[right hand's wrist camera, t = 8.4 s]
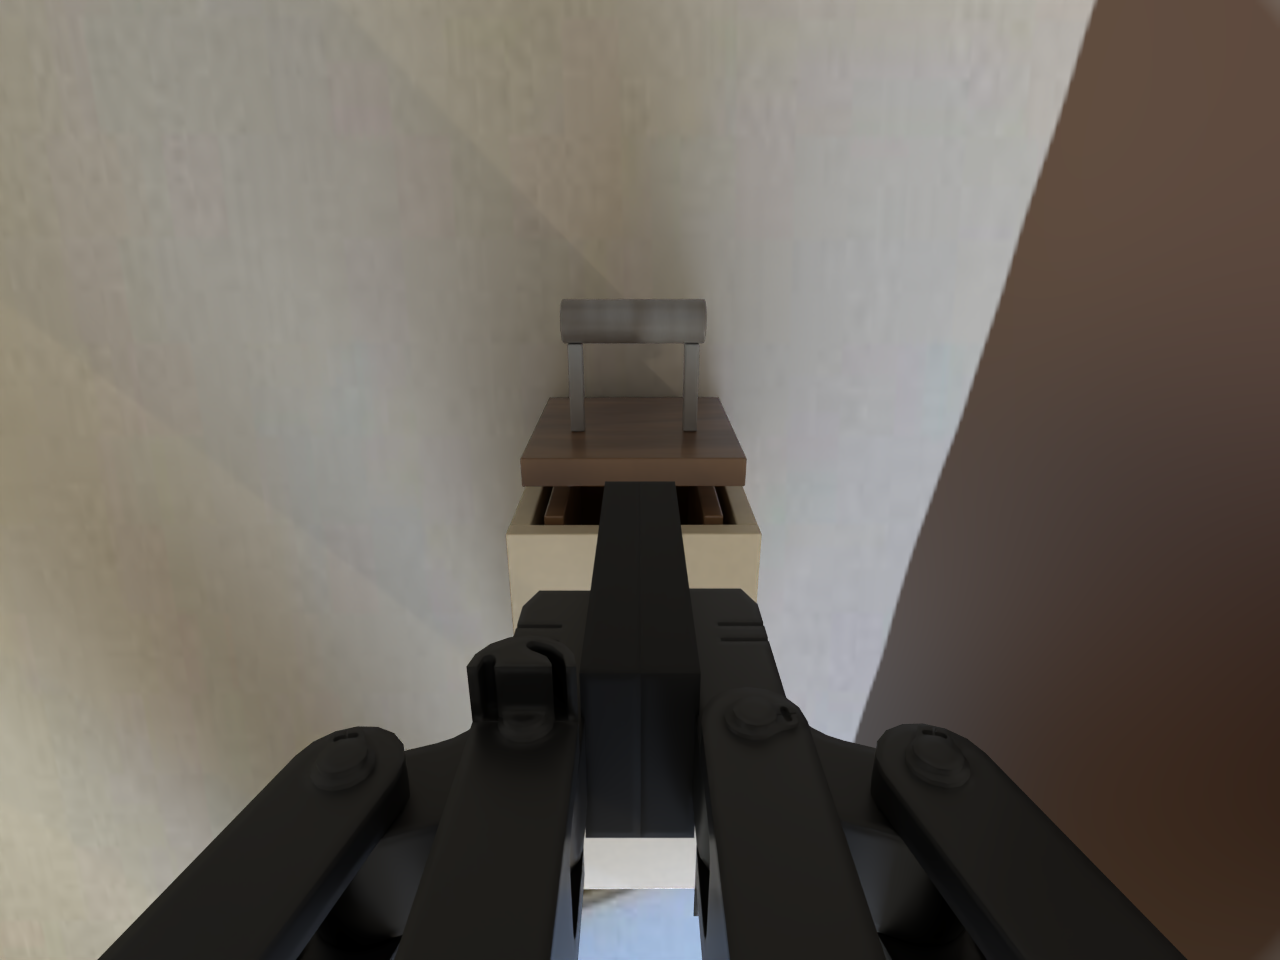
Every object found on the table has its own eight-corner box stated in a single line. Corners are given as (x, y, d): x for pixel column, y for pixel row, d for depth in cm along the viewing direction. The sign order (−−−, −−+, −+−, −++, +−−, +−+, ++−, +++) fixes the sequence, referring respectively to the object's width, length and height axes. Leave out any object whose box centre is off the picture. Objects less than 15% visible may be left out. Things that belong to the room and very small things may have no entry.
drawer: (543, 285, 33) (509, 311, 24) (723, 285, 33) (755, 311, 24) (563, 686, 42) (544, 814, 33) (706, 686, 42) (725, 813, 33)
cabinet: (542, 442, 37) (505, 534, 26) (725, 442, 37) (761, 533, 26) (558, 727, 44) (534, 889, 33) (712, 726, 44) (736, 888, 34)
